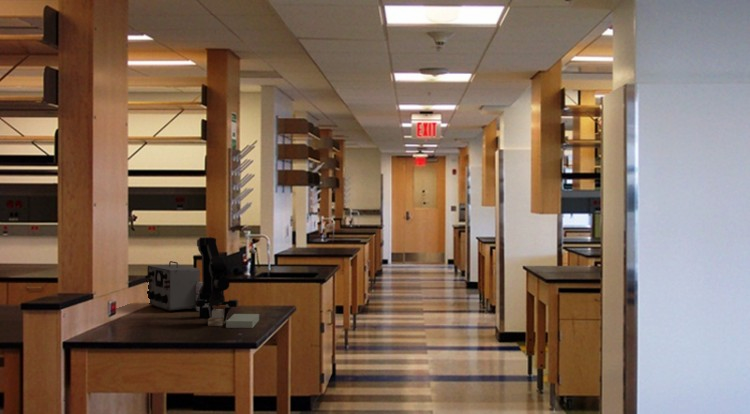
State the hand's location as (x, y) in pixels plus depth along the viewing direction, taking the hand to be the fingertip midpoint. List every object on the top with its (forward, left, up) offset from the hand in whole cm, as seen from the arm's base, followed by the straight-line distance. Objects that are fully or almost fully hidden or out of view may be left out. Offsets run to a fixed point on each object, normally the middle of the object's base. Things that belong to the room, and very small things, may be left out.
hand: (217, 321), depth 350 cm
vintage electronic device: (-34, +49, -1) cm, 60 cm away
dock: (+12, 0, -1) cm, 12 cm away
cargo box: (0, 0, +2) cm, 2 cm away
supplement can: (-15, +41, -1) cm, 44 cm away
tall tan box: (0, 0, -1) cm, 1 cm away
